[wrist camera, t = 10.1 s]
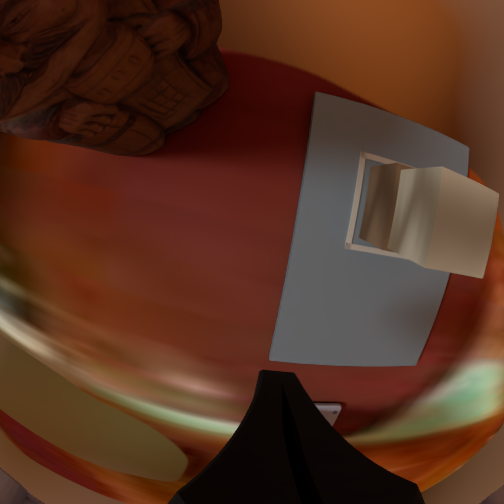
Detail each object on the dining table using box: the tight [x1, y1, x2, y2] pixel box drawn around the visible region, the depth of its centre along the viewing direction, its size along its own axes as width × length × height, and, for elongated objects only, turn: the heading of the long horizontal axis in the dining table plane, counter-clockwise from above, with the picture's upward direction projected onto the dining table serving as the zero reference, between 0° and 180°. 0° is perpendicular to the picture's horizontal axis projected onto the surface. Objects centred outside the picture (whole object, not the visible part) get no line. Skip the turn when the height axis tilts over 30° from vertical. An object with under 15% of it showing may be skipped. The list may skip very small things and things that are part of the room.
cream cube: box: [387, 167, 499, 279], centre depth 12 cm, size 4×4×4 cm
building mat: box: [269, 92, 469, 366], centre depth 18 cm, size 20×14×1 cm
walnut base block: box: [359, 163, 415, 253], centre depth 15 cm, size 5×5×4 cm
